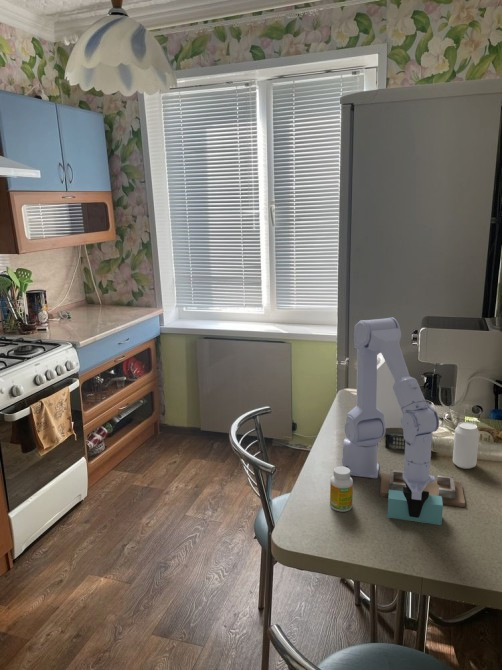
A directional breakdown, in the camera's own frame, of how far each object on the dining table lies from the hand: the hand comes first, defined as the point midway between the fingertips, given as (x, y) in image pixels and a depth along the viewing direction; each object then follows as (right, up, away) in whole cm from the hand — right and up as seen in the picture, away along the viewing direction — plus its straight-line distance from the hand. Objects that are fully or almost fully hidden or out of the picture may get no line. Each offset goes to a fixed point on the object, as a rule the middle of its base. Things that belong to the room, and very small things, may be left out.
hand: (413, 510), depth 122 cm
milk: (+7, +12, +54) cm, 56 cm away
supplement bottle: (-16, -1, +5) cm, 17 cm away
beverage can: (+22, +5, +24) cm, 32 cm away
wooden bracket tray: (+5, +1, +11) cm, 12 cm away
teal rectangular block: (0, -1, 0) cm, 1 cm away
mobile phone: (+9, +7, +33) cm, 35 cm away
